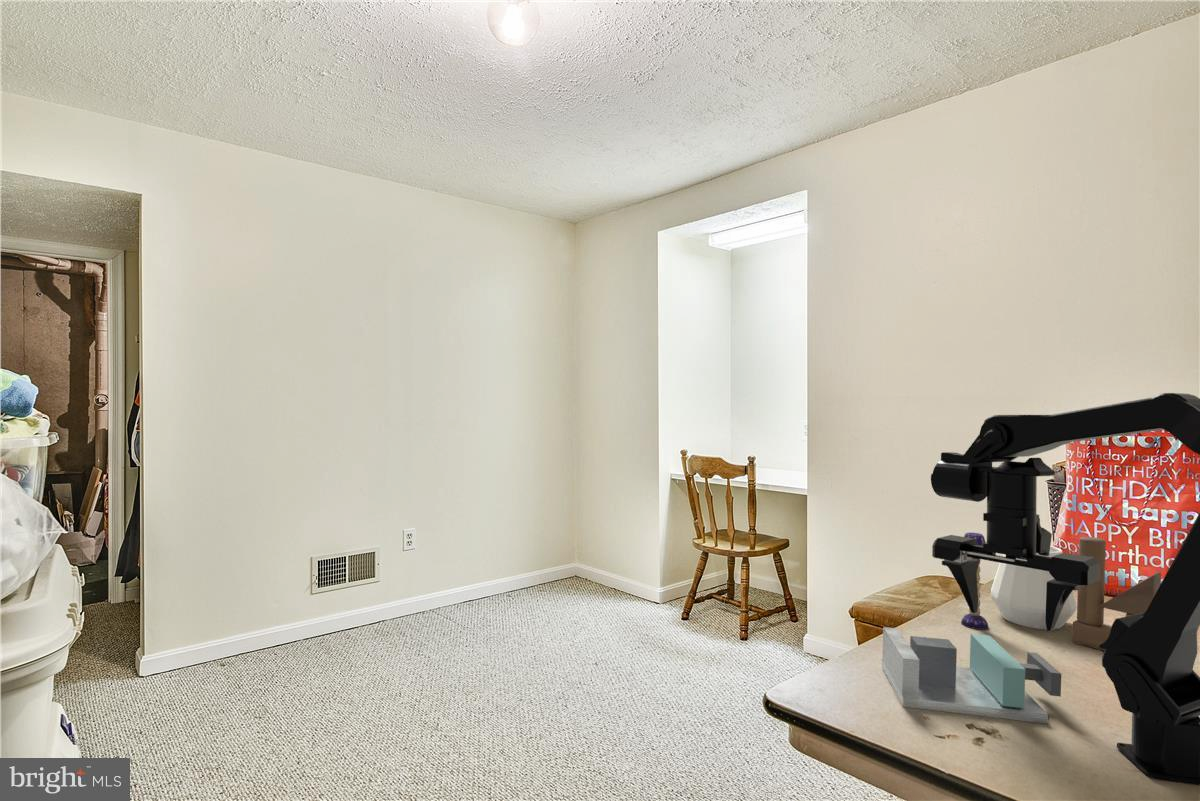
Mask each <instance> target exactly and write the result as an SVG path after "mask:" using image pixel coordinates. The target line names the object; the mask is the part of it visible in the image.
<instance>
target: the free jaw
mask: <svg viewBox="0 0 1200 801" xmlns="http://www.w3.org/2000/svg"><path fill="white" fill-rule="evenodd" d="M969 643H970V646H969V647H970V649H969V650H970V651H969V668H970V669H971V670H972V671H973V672H974V673H975V675H976V676H977V677H978V678H979V679H980V680H981V681H982V683H983V684H984V685H985V686H986V687H987V688H988V690H989V691H990V692H991V693H992V694H993V695H994V697H995V698H996V699H997V700H998V701H999V702H1000V703H1001V705H1002V706H1009V707H1018V708H1024V698H1025V691H1026V690H1025V689H1026V687H1025V686H1026V681H1035V683H1036V684H1038V685H1039V686H1040V687H1041V688H1042V689H1043V690H1044V691H1045V693H1047V694H1048V695H1049V696H1053V697H1060V698H1061V696H1062V672H1060V671H1059V670H1058V669H1057V668H1055V667H1054V666H1053V665H1052V664H1051V663H1049V661H1047V660H1046V659H1045V658H1044V657H1043V656H1041V655H1040V654H1039V653H1038V652H1030V651H1027V652H1026V653H1027V654H1026V656H1027V657H1026V663H1023V662H1018V661H1017V660H1016V659H1015V658H1014V657H1013V656H1012V655H1011V654H1010V653H1009V652H1008V651H1006V649H1004V648H1003V647H1002V646H1001V645H1000V644H999V643H998V642H997V641H996V640H994V638H993V637H991V635H985V634H976V633H974V634H973V633H971V634H970V642H969Z"/></svg>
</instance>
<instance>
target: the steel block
mask: <svg viewBox="0 0 1200 801" xmlns="http://www.w3.org/2000/svg"><path fill="white" fill-rule="evenodd" d="M909 641H910V642H909V646H910V647H911V649H912V650H913V651H914V653H915V654H916V656H917V657H918V659H919V685H923V686H932V687H941V688H950V689H956V667H957V654H958V652H957V647H956V646H955V644H953V643H952V642H951V640H950V639H948V638H947V639H945V638H936V637H926V636H918V635H916V636H913V635H910V640H909Z"/></svg>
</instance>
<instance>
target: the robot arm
mask: <svg viewBox="0 0 1200 801" xmlns="http://www.w3.org/2000/svg"><path fill="white" fill-rule="evenodd" d="M1157 431H1166V432H1168V433H1170V435H1172V436H1173V437H1174V438H1175V439H1177V440H1178V441H1180V443H1182V444H1183V445H1184V446H1186V448H1187V449H1189V450H1191V451H1192V452H1194V453H1196V454H1197V455H1199V456H1200V397H1198V396H1196V395H1194V394H1190V393H1177V392H1166V393H1165V392H1164V393H1160V394H1158V395H1155V396H1152V397H1148V398H1143V399H1141V398H1140V399H1137V400H1130V401H1124V402H1119V403H1118V402H1117V403H1113V404H1107V405H1106V404H1105V405H1102V406H1101V405H1099V406H1095V407H1090V408H1089V407H1088V408H1084V409H1077V410H1072V411H1071V410H1070V411H1065V412H1059V413H1053V414H995V415H991V416H989V417H987V418H986V419H984V421H983V424H982V425H981V427H980V431H979V434H978V436H977V437H976V438H975V440H974V441H973V442H972V443H971V445H970V446H969V447H968V449H967V450H966V451H965V453H963V454H962V453H959V452H954V451H951V452H950V451H949V452H948V451H947V452H946V451H945V452H944V451H943V452H941V453H940V460H939V461H938V462H937V463H936V465H934V468H933V471H932V473H931V474H930V484H931V487H932V490H933V492H934V493H935V495H936V496H939V497H942V498H948V499H955V500H961V501H962V500H963V501H970V502H975V503H976V502H982V501H984V500H985V499H986V512H983V513H982V514H983V517H982V518H983V519H982V521H983V522H986V541H985V542H986V543H983V546H979V545H978V544H977V542H976V540H975V539H974V538H968V537H964V536H961V535H960V536H958V535H954V534H949V535H946V536H941V537H937V538H936V539H935V540H934V541H933V542H932V543H933V544H932V547H931V548H932V553H931V554H932V557H933V558H934V559H939V560H941V565H942V566H945V567H947V568H948V569H949V571H950V573H951V575H952V576H953V578H954V579H955V581H956V582H957V585H958V586H959V589H960V591H961V593H962V595H963V596H964V600H965V601H966V604H967V607H968V609H969V608H970V610H971V612H972V613H976V612H977V609H978V589H977V569H978V565H979V566H980V564H979V561H980V562H981V560H984V561H988V562H995V563H998V564H1000V563H1005V564H1010V565H1016V566H1022V567H1027V568H1033V569H1038V570H1044V571H1049V573H1050V575H1051V576H1052V577H1053V578H1054V579H1052V580H1050V581H1048V582H1047V587H1046V616H1045V621H1046V629H1045V630H1046V632H1052V631H1053V630H1055V629H1054V626H1055V624H1056V622H1057V620H1058V617H1059V615H1060V613H1061V610H1062V608H1063V606H1064V604H1065V602H1066V600H1067V598H1068V597H1069V595H1070V594H1071V592H1072V591H1073V592H1074V591H1076V590H1078V589H1079V588H1081V587H1083V586H1085V585H1087V586H1088V585H1090V584H1092V583H1094V582H1096V581H1098V580H1100V579H1101V566H1100V564H1099V562H1098V561H1097V560H1096V559H1095V557H1088V556H1082V555H1079V554H1075V553H1069V552H1068V553H1067V552H1063V553H1061V554H1058V555H1056V556H1053V557H1046V556H1049V553H1050V546H1052V545H1051V544H1052V536H1053V534H1052V532H1050V531H1048V530H1047V529H1045V527H1042V526H1041V518H1040V514H1037V497H1038V496H1037V490H1038V488H1037V487H1038V486H1037V485H1038V484H1037V480H1038V479H1037V478H1038V477H1052V476H1055V474H1056V472H1055V470H1054V469H1052V468H1051V467H1050V466H1048V465H1047V464H1046V463H1045V462H1044V461H1043V459H1042V458H1041V457H1031V456H1035V455H1038V454H1042V453H1046V452H1048V451H1053V450H1055V449H1057V448H1059V447H1061V446H1064V445H1067V444H1070V443H1073V442H1081V441H1088V440H1098V439H1104V438H1113V437H1118V436H1119V437H1121V436H1127V435H1135V434H1142V433H1143V434H1144V433H1151V432H1157ZM1020 457H1021V458H1023V457H1029V458H1028V459H1027V460H1026V461H1014V460H1015V459H1018V458H1020ZM993 463H1000V464H999V465H998V466H993ZM1036 553H1038V554H1039V555H1036ZM997 554H1001V555H997ZM1003 554H1005V555H1006V557H1003V556H1002V555H1003ZM1040 555H1043V556H1040ZM972 558H977V559H980V560H977V559H972ZM1017 558H1018V559H1022V560H1017ZM1023 560H1027V561H1023ZM1111 626H1112V627H1111V631H1110V634H1109V637H1108V639H1107V640H1106V641H1105V642H1104V643H1102V644H1101V645H1099V647H1100V648H1101V649H1106V650H1105V651H1103V653H1102V658H1101V665H1102V667H1103V668H1104V671H1105V672H1106V675H1107V677H1108V678H1109V679H1110V681H1111V682H1112V683H1113V686H1114V689H1115V692H1116V695H1117V698H1118V701H1119V704H1120V707H1121V708H1122V710H1124V711H1127V712H1129V713H1132V714H1131V743H1127V742H1126V743H1124V742H1117V743H1116V748H1117V749H1118V750H1119V751H1120V752H1121V753H1122V754H1123V755H1125V757H1127V758H1128V759H1129V760H1130V761H1131V762H1132V763H1134V765H1135V766H1137V767H1138V768H1139V769H1140V770H1141V771H1142V772H1143V773H1144V774H1145V775H1146V776H1148V777H1150V778H1153V779H1161V780H1170V781H1177V782H1184V783H1193V784H1200V676H1199V675H1198V674H1197V672H1195V670H1194V665H1195V662H1196V659H1197V654H1198V631H1199V628H1200V512H1199V513H1198V515H1197V516H1196V518H1195V520H1194V522H1193V524H1192V526H1191V528H1190V530H1189V532H1188V533H1187V535H1186V537H1185V539H1184V540H1183V542H1182V544H1181V546H1180V548H1179V549H1178V552H1177V553H1176V555H1175V556H1174V559H1173V561H1172V563H1171V565H1170V567H1169V568H1168V570H1167V572H1166V574H1165V575H1164V577H1163V580H1161V585H1160V587H1159V588H1158V590H1157V592H1156V594H1155V596H1154V598H1153V600H1152V601H1151V603H1150V605H1149V607H1148V609H1147V611H1146V612H1145V613H1139V614H1135V615H1131V616H1126V615H1125V616H1123V617H1119V618H1118V617H1117V618H1115V619H1114V621H1113V622H1112V625H1111Z"/></svg>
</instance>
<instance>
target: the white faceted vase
mask: <svg viewBox="0 0 1200 801" xmlns="http://www.w3.org/2000/svg"><path fill="white" fill-rule="evenodd" d="M1061 553H1064V552H1063V550H1062V549H1061V548H1058V547H1056V546H1053V545H1050V553H1049V556H1046V557H1053V556H1056V555H1058V554H1061ZM1036 555H1039V554H1038V553H1036ZM1001 556H1003V557H1006V555H1005V554H1001ZM1040 556H1043V555H1040ZM1017 560H1022V559H1018V558H1017ZM1023 561H1027V560H1023ZM1052 579H1054V578H1053V577H1052V576H1051V575H1050V573H1049V571H1044V570H1038V569H1033V568H1027V567H1022V566H1016V565H1010V564H1005V563H998V568H997V570H996V573H995V577H994V578H993V582H992V585H991V590H990V595H991V599H992V601H993V603H994V604H995V606H996V607H997V609H998V611H999V613H1000V614H1001V616H1002V618H1004V619H1005V620H1007V621H1009V622H1010V623H1013V624H1016V625H1020V626H1023V627H1027V628H1032V629H1037V630H1047V629H1046V621H1045V616H1046V587H1047V582H1048V581H1050V580H1052ZM1076 612H1077V602H1076V597H1075V595H1074V590H1073V591H1072V592H1071V594H1070V595H1069V597H1068V598H1067V600H1066V602H1065V604H1064V606H1063V608H1062V610H1061V613H1060V615H1059V617H1058V620H1057V622H1056V624H1055V626H1054V629H1053V630H1059V629H1061V628H1063V626H1064V625H1065V624H1066V623H1067V622H1068V621H1069V619H1070V618H1071V617H1072V616H1073V615H1074V613H1076Z"/></svg>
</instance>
